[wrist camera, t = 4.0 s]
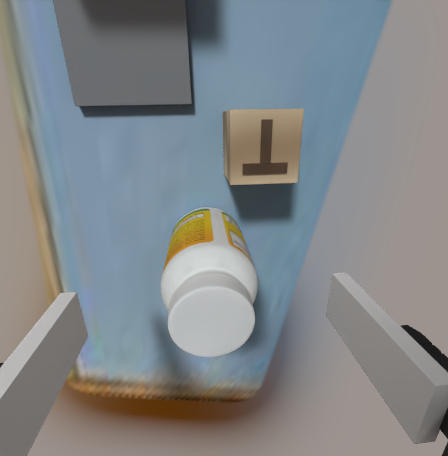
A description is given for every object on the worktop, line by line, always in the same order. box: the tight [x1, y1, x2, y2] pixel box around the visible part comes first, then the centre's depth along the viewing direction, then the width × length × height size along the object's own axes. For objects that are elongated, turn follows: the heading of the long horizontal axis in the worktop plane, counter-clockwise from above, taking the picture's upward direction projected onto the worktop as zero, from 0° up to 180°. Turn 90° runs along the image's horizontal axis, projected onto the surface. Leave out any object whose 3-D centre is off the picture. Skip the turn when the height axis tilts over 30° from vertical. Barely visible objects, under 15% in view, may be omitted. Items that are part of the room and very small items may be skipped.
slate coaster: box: [53, 0, 192, 106], centre depth 15 cm, size 7×7×1 cm
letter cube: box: [223, 109, 304, 185], centre depth 17 cm, size 4×4×4 cm
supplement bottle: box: [161, 207, 258, 357], centre depth 16 cm, size 5×5×10 cm
